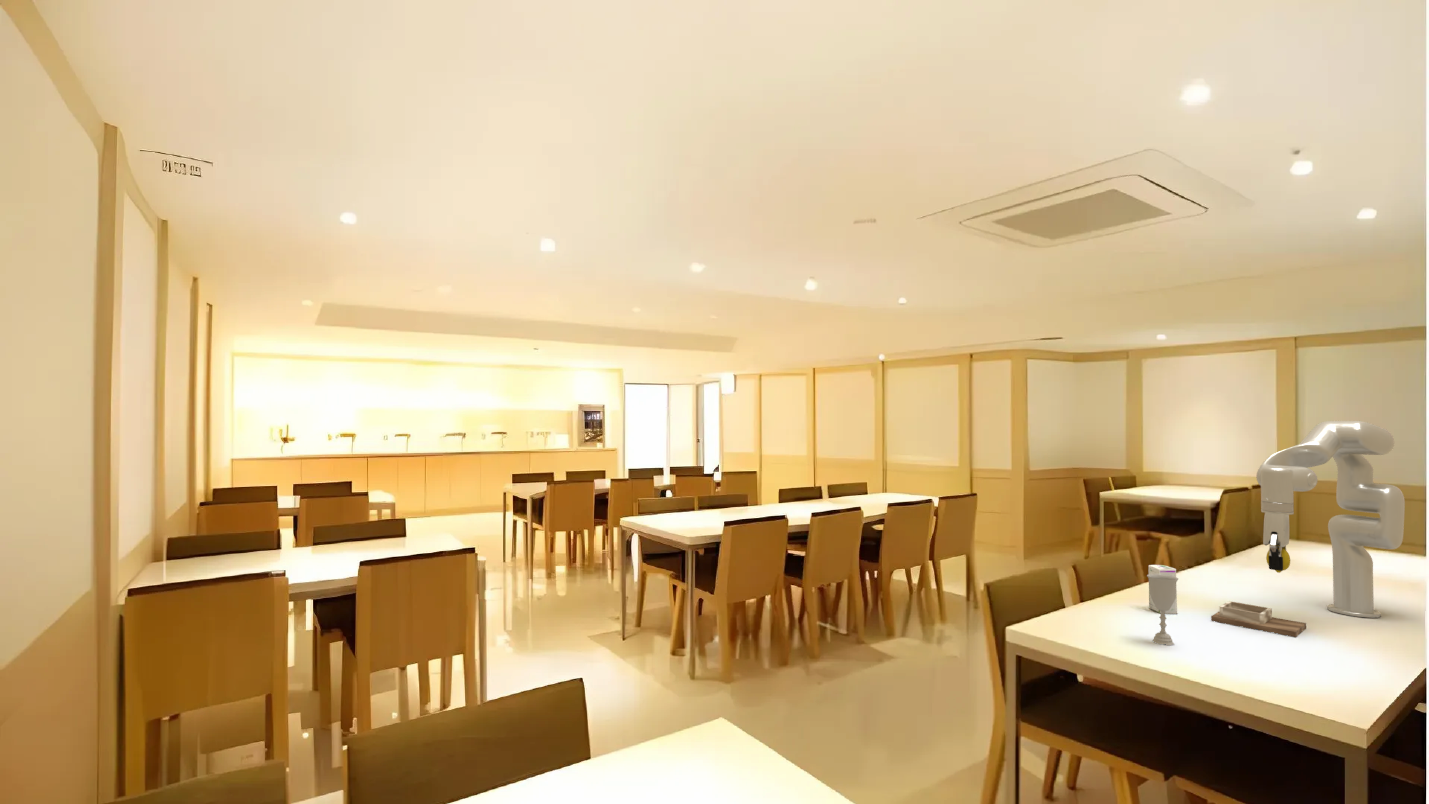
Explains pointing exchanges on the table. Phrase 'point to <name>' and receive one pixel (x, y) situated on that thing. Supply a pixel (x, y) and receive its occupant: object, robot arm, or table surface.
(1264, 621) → the serving board
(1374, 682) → the table surface
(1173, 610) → the syrup box
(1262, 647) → the table surface
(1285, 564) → the lemon
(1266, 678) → the table surface
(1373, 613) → the robot arm
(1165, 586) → the chalice
